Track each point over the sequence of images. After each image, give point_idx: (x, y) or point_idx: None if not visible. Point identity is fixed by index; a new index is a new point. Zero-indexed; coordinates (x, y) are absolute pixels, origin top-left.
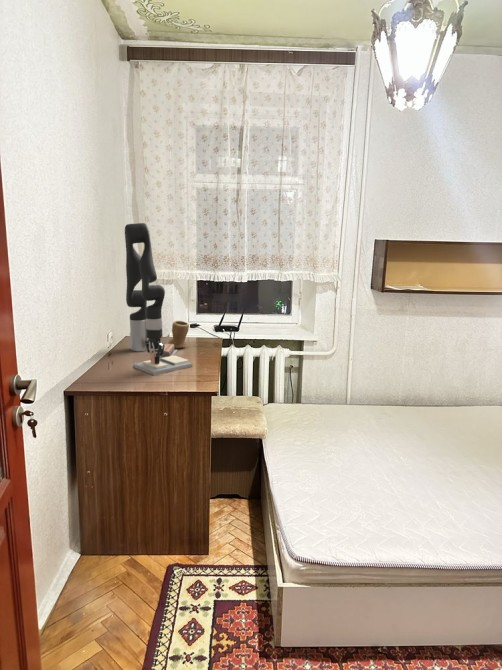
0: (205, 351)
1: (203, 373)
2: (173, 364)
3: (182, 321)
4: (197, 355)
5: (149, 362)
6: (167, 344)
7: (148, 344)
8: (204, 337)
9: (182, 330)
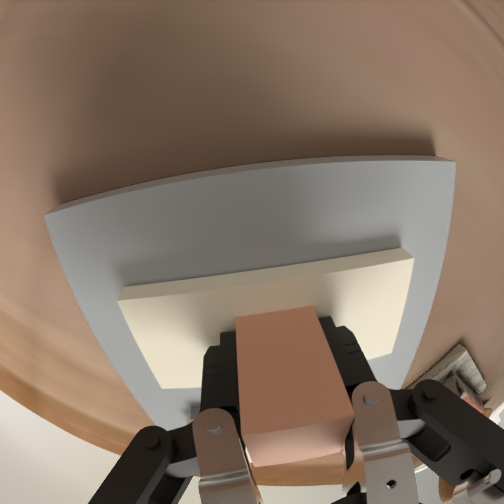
0: None
1: (59, 413)
2: (193, 412)
3: None
4: (329, 465)
5: (336, 298)
6: None
7: (475, 472)
8: None
9: (448, 486)
